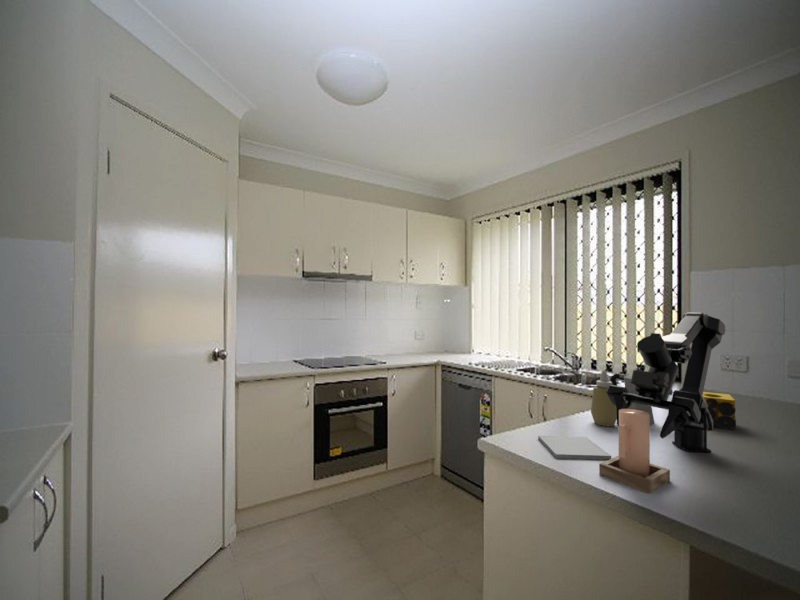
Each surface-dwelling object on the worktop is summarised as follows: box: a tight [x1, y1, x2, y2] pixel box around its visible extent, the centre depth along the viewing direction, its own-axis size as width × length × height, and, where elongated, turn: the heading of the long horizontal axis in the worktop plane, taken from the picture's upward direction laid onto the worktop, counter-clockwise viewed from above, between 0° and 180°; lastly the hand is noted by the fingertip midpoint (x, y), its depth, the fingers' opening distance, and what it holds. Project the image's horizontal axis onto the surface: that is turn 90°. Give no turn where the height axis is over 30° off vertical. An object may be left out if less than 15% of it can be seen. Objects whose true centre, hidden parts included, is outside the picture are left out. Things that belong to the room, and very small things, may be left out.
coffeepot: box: [609, 368, 656, 426], centre depth 129 cm, size 15×9×18 cm, turn 44°
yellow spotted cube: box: [702, 391, 737, 431], centre depth 126 cm, size 10×10×10 cm
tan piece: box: [618, 409, 651, 478], centre depth 84 cm, size 9×6×15 cm
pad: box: [537, 435, 612, 460], centre depth 102 cm, size 14×14×1 cm
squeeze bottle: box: [590, 369, 617, 427], centre depth 125 cm, size 8×8×18 cm
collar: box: [598, 455, 671, 494], centre depth 85 cm, size 10×10×2 cm
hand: (638, 431), depth 87 cm, fingers open, 9 cm apart
